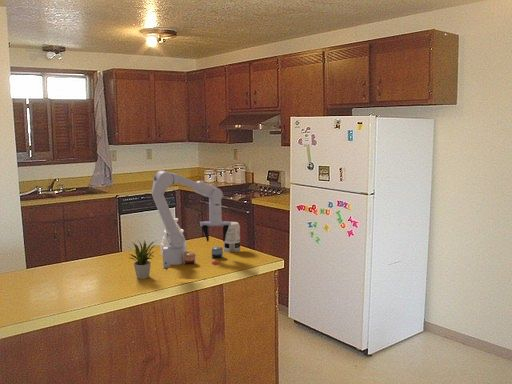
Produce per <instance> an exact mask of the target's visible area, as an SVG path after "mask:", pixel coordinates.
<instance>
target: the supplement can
mask: <svg viewBox="0 0 512 384" xmlns="http://www.w3.org/2000/svg"><path fill="white" fill-rule="evenodd" d="M230 222H231V226H229V228H228V230H227V233H226V236H225V242H223V252H224V253H225V252H226V253H229V252H230V253H232V252H233V253H234V252H235V253H236V252H241V225H240V224H239V222H238V221H230ZM223 227H224V226H222V228H223Z"/></svg>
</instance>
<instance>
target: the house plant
mask: <svg viewBox="0 0 512 384" xmlns="http://www.w3.org/2000/svg"><path fill="white" fill-rule="evenodd" d="M155 242H157V240H154V241H151V243H149V245H148V246H147V242H146V240H144V241H143V245H142V243H141V241H138V243H139V246H138V245H137V244H136V243H135V242H132V244H133V246H134V253H135V255H134V254H132V253H128V255H130V257H129V259H131V260H134V261H135V262H134V263H133V267H134V272H135V276H136V279H138V280H144V279H148V278H149V277H150V272H151V261H150V260H153V258H154V257H155V255H154V252H156V250H154V251H152V249H154V247H157V244H154V243H155ZM153 244H154V245H153ZM125 247H127V248H128V246H126V245H125ZM139 247H140V248H139ZM150 247H151V248H150ZM129 249H130V250H132V248H131V247H129ZM151 251H152V252H151Z"/></svg>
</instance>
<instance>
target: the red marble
mask: <svg viewBox="0 0 512 384" xmlns="http://www.w3.org/2000/svg"><path fill="white" fill-rule="evenodd" d="M218 264H219V262H218V260H215V259H214V260H212V261H211V265H218Z"/></svg>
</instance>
